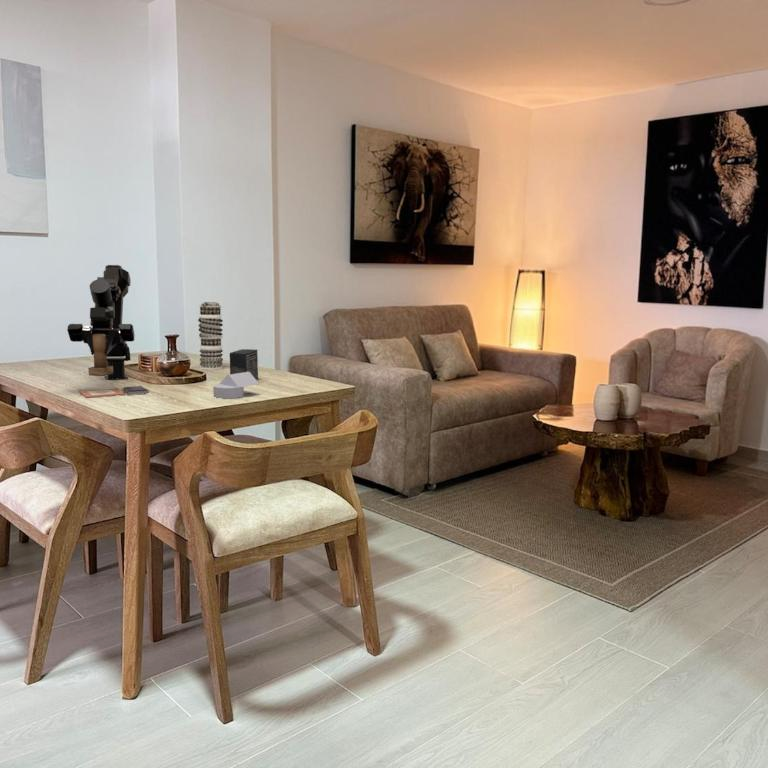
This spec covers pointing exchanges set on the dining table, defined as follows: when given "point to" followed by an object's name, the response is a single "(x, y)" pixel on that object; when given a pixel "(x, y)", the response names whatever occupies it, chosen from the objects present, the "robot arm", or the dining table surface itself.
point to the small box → (244, 362)
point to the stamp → (100, 357)
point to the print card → (101, 393)
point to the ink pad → (135, 390)
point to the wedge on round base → (234, 385)
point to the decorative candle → (210, 336)
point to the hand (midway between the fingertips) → (99, 354)
